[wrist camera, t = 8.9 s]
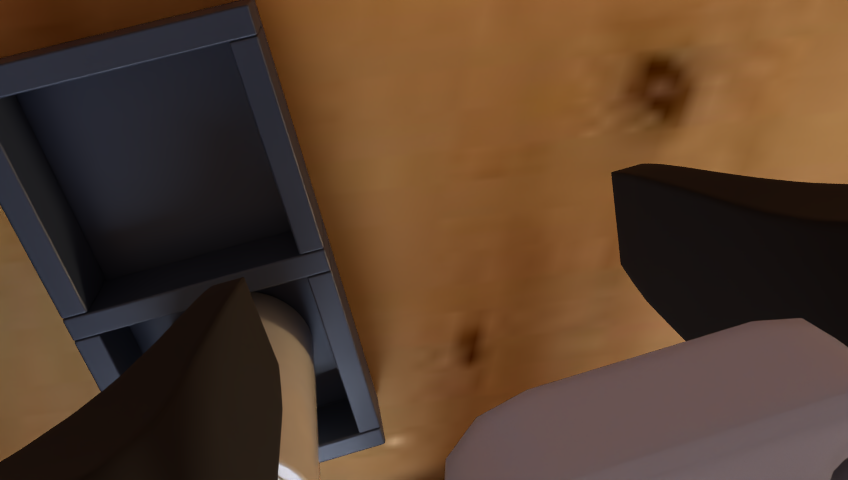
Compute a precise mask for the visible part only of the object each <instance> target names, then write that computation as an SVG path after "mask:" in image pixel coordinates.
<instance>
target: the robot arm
mask: <svg viewBox="0 0 848 480" xmlns="http://www.w3.org/2000/svg"><path fill="white" fill-rule="evenodd" d="M611 174H612V184H613V193H614V203H615V212H616V222H617V232H618V241H619V251H620V260H621V265H622V267H623V268H624V270H625V271H626V273H627V274H628V276H629V277H630V279H631V280H632V282H633V283H634V284H635V286H636V287H637V289H638V290H639V291H640V293H641V294H642V295H643V297H644V298H645V299H646V301H647V302H648V303H649V304H650V305H651V306H652V307H653V308H654V309H655V310H656V311H657V312H658V313H659V314H660V315H661V316H662V317H663V318H664V319H665V321H666V322H667V323H668V324H669V325H670V326H671V327H672V328H673V329H674V330H675V331H676V332H677V333H678V334H679V335H680V336H681V337H682V338H683V339H684V340H685V341H686V342H682V343H679V344H676V345H673V346H669V347H666V348H663V349H659V350H656V351H653V352H650V353H646V354H643V355H640V356H636V357H633V358H630V359H627V360H623V361H620V362H617V363H613V364H610V365H607V366H604V367H600V368H597V369H594V370H590V371H587V372H584V373H581V374H577V375H574V376H571V377H567V378H564V379H561V380H558V381H554V382H551V383H548V384H545V385H541V386H538V387H535V388H531V389H528V390H526V391H524V392H522V393H520V394H518V395H516V396H515V397H513V398H511V399H509V400H507V401H506V402H504V403H502V404H500V405H498V406H496V407H495V408H493V409H491V410H489V411H487V412H485V413H484V414H482V415H480V416H478V417H476V419H475V420H474V421H473V423H472V424H471V425H470V427H469V428H468V430H467V431H466V432H465V434H464V435H463V436H462V438H461V439H460V440H459V442H458V443H457V445H456V446H455V447H454V449H453V450H452V451H451V453H450V454H449V455H448V457H447V458H446V465H445V480H848V184H827V183H807V182H793V181H784V180H774V179H764V178H756V177H748V176H741V175H734V174H727V173H720V172H713V171H707V170H700V169H693V168H687V167H680V166H672V165H663V164H639V165H636V166H632V167H629V168H625V169H621V170H618V171H614V172H611ZM282 411H283V407H282V392H281V380H280V370H279V364H278V361H277V359H276V356H275V354H274V351H273V349H272V346H271V344H270V341H269V339H268V336H267V334H266V331H265V328H264V326H263V323H262V321H261V318H260V316H259V313H258V311H257V308H256V306H255V303H254V301H253V298H252V296H251V293H250V291H249V288H248V286H247V283H246V281H245V278H244V277H241V278H238V279H234V280H231V281H227V282H224V283H220V284H217V285H213V286H211V287H210V288H208V289H207V290H206V291H205V292H203V293H202V294H201V295H200V296H199V297H198V298H197V299H196V300H195V301H194V302H193V303H192V304H191V305H190V307H189V308H188V309H187V310H186V311H185V312H184V313H183V314H182V315H181V316H180V317H179V318H178V319H177V320H176V321H175V322H174V323H173V324H172V326H171V327H170V328H169V329H168V330H167V331H166V332H165V333H164V334H163V335H162V336H161V337H160V338H159V339H158V340H157V341H156V342H155V343H154V344H153V345H152V346H151V347H150V348H149V349H148V350H147V351H146V352H145V353H144V354H143V355H142V356H141V357H140V358H138V359H137V360H136V361H135V362H134V363H133V364H132V365H131V366H130V367H129V368H128V369H127V370H126V371H125V372H124V373H123V374H122V375H121V376H119V377H118V378H117V379H116V380H115V381H114V382H113V383H111V384H110V385H109V386H108V387H107V388H105V389H104V390H103V391H102V392H101V393H99V394H98V395H97V396H96V397H94V398H93V399H92V400H90V401H89V402H88V403H87V404H85V405H84V406H83V407H82V408H80V409H79V410H78V411H76V412H75V413H74V414H72V415H71V416H70V417H68V418H67V419H65V420H64V421H62V422H61V423H59V424H58V425H56V426H55V427H53V428H52V429H50V430H49V431H47V432H46V433H44V434H43V435H42V436H40V437H39V438H37V439H36V440H34V441H33V442H31V443H30V444H28V445H27V446H25V447H24V448H22V449H21V450H19V451H18V452H16V453H14V454H13V455H11V456H9V457H8V458H6V459H4V460H3V461H1V462H0V480H278V469H279V456H280V442H281V428H282Z"/></svg>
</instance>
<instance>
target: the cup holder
mask: <svg viewBox="0 0 848 480" xmlns="http://www.w3.org/2000/svg"><path fill="white" fill-rule="evenodd" d="M0 205H1V207H2V209H3V211H4V212H5V214H6V216H7V218H8V220H9V222H10V223H11V225H12V227H13V229H14V231H15V233H16V235H17V236H18V238H19V240H20V242H21V244H22V246H23V248H24V249H25V251H26V253H27V255H28V257H29V259H30V260H31V262H32V264H33V266H34V268H35V270H36V272H37V273H38V275H39V277H40V279H41V281H42V283H43V284H44V286H45V288H46V290H47V292H48V294H49V296H50V297H51V299H52V301H53V303H54V305H55V307H56V308H57V310H58V312H59V314H60V316H61V317H62V318H64V319H63V322H64V324H65V326H66V328H67V329H68V331H69V333H70V335H71V337H72V339H73V340H75V344H76V346H77V348H78V350H79V352H80V354H81V356H82V357H83V359H84V361H85V363H86V365H87V367H88V368H89V370H90V372H91V374H92V376H93V378H94V380H95V381H96V383H97V385H98V387H99V389H100V391H101V392H102V391H103V390H104V389H105V388H107V387H108V386H109V385H110V384H111V383H113V382H114V381H115V380H116V379H117V378H118V377H119V376H121V375H122V374H123V373H124V372H125V371H126V370H127V369H128V368H129V367H130V366H131V365H132V364H133V363H134V362H135V361H136V360H137V359H138V358H140V357H141V356H142V355H143V354H144V353H145V352H146V351H147V350H148V349H149V348H150V347H151V346H152V345H153V344H154V343H155V342H156V341H157V340H158V339H159V338H160V337H161V336H162V335H163V334H164V333H165V332H166V331H167V330H168V329H169V328H170V327H171V326H172V324H173V323H174V322H175V321H176V320H177V319H178V318H179V317H180V316H181V315H182V314H183V313H184V312H185V311H186V310H187V309H188V308H189V307H190V305H191V304H192V303H193V302H194V301H195V300H196V299H197V298H198V297H199V296H200V295H201V294H202V293H203V292H205V291H206V290H207V289H208V288H210V287H211V286H213V285H217V284H220V283H224V282H227V281H231V280H234V279H238V278H241V277H244V278H245V281H246V283H247V286H248V288H249V291H250V292H259V293H263V294H267V295H270V296H273V297H275V298H277V299H279V300H281V301H283V302H285V303H286V304H288V305H289V306H291V307H292V308H293V309H294V310H296V311H297V312H298V313H299V314H300V316H301V317H302V318H303V319H304V320H305V322H306V324H307V325H308V327H309V329H310V332H311V334H312V338H313V343H314V357H315V377H316V398H317V419H318V440H319V461H320V462H324V461H327V460H331V459H334V458H337V457H341V456H344V455H348V454H351V453H354V452H358V451H361V450H364V449H368V448H371V447H375V446H378V445H381V444H384V443H385V436H384V431H383V426H382V420H381V415H380V409H379V403H378V398H377V395H376V391H375V388H374V385H373V382H372V378H371V375H370V372H369V369H368V365H367V362H366V359H365V356H364V352H363V349H362V346H361V343H360V340H359V336H358V333H357V330H356V327H355V323H354V320H353V317H352V314H351V310H350V307H349V304H348V301H347V297H346V294H345V291H344V288H343V284H342V281H341V278H340V275H339V272H338V268H337V265H336V262H335V259H334V255H333V252H332V249H331V246H330V242H329V239H328V236H327V233H326V229H325V226H324V223H323V220H322V217H321V213H320V210H319V207H318V204H317V200H316V197H315V194H314V191H313V187H312V184H311V181H310V178H309V174H308V171H307V168H306V165H305V161H304V158H303V155H302V152H301V149H300V145H299V142H298V139H297V136H296V132H295V129H294V126H293V123H292V119H291V116H290V113H289V110H288V106H287V103H286V100H285V97H284V93H283V90H282V87H281V84H280V81H279V77H278V74H277V71H276V68H275V64H274V61H273V58H272V55H271V51H270V48H269V45H268V42H267V38H266V35H265V32H264V29H263V26H262V22H261V19H260V16H259V13H258V9H257V6H256V3H255V0H239V1H235V2H231V3H227V4H223V5H219V6H215V7H210V8H206V9H202V10H198V11H194V12H190V13H186V14H182V15H177V16H173V17H169V18H165V19H161V20H157V21H153V22H148V23H144V24H140V25H136V26H132V27H128V28H124V29H119V30H115V31H111V32H107V33H103V34H99V35H95V36H91V37H86V38H82V39H78V40H74V41H70V42H66V43H62V44H57V45H53V46H49V47H45V48H41V49H37V50H33V51H29V52H24V53H20V54H16V55H12V56H8V57H4V58H0Z"/></svg>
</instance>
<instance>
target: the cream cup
mask: <svg viewBox="0 0 848 480" xmlns="http://www.w3.org/2000/svg"><path fill="white" fill-rule="evenodd" d="M250 293H251V296H252V298H253V301H254V303H255V306H256V308H257V311H258V313H259V316H260V318H261V321H262V323H263V326H264V328H265V331H266V334H267V336H268V339H269V341H270V344H271V346H272V349H273V351H274V354H275V356H276V359H277V361H278V364H279V370H280V380H281V392H282V407H283V411H282V428H281V442H280V456H279V469H278V480H320V461H319V440H318V419H317V398H316V377H315V357H314V343H313V338H312V334H311V332H310V329H309V327H308V325H307V324H306V322H305V320H304V319H303V318H302V317H301V316H300V314H299V313H298V312H297V311H296V310H294V309H293V308H292V307H291V306H289V305H288V304H286V303H285V302H283V301H281V300H279V299H277V298H275V297H273V296H270V295H267V294H263V293H259V292H250Z"/></svg>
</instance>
